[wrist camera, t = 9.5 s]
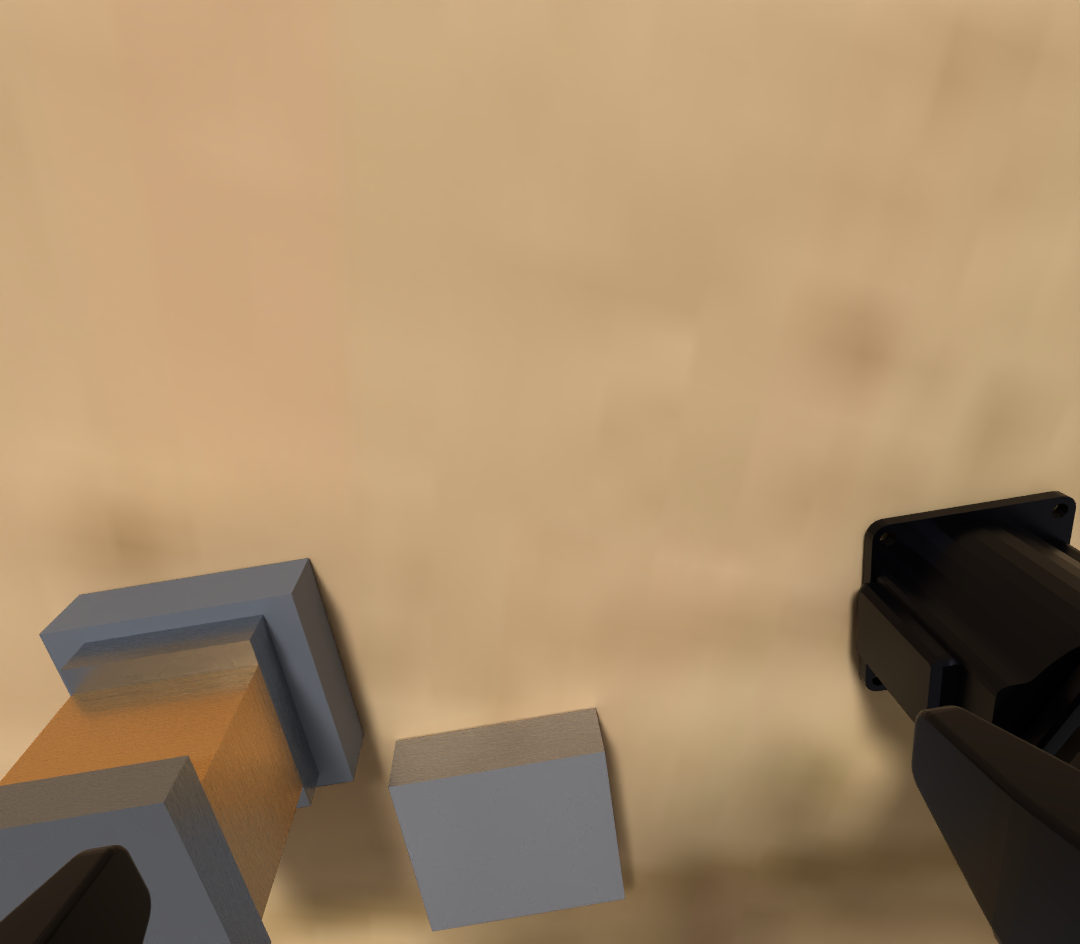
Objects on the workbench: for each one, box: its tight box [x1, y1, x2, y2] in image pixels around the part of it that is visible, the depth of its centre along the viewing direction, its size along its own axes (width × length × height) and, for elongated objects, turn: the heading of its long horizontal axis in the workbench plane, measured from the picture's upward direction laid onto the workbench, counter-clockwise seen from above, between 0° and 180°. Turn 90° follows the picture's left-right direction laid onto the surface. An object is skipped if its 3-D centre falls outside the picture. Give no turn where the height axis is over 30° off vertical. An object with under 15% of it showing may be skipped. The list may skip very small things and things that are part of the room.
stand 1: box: [39, 558, 364, 787], centre depth 21 cm, size 7×7×2 cm
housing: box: [0, 614, 319, 944], centre depth 17 cm, size 6×5×6 cm
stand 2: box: [388, 708, 625, 931], centre depth 24 cm, size 7×7×2 cm
